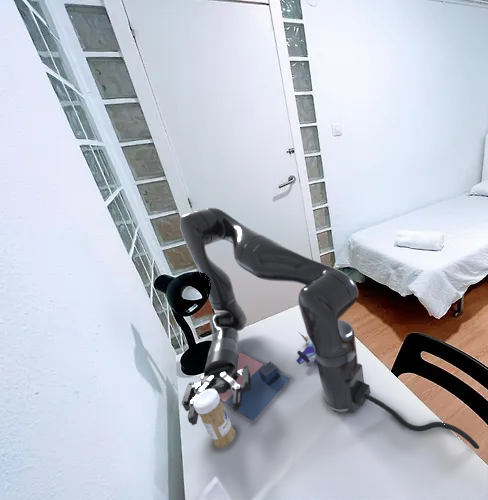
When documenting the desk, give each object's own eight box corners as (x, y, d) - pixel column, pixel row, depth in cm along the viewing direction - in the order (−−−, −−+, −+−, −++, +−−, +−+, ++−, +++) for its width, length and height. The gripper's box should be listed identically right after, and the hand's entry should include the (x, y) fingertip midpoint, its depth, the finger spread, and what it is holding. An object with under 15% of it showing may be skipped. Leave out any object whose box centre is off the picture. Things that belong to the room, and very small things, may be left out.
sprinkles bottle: (237, 440, 61) (218, 399, 55) (216, 454, 59) (194, 412, 53) (233, 423, 64) (215, 383, 59) (212, 436, 62) (191, 395, 57)
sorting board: (291, 379, 74) (291, 378, 74) (253, 422, 64) (252, 421, 64) (240, 353, 85) (240, 352, 84) (201, 387, 75) (200, 385, 75)
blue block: (280, 376, 74) (277, 367, 73) (268, 386, 72) (265, 376, 70) (272, 370, 77) (269, 360, 75) (261, 379, 74) (258, 369, 73)
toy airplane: (297, 336, 88) (295, 328, 87) (340, 336, 86) (339, 327, 85) (285, 371, 77) (282, 361, 75) (335, 371, 75) (333, 361, 73)
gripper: (188, 357, 70) (170, 415, 55) (246, 340, 73) (244, 391, 59) (198, 378, 73) (184, 438, 59) (254, 361, 76) (253, 414, 62)
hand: (214, 415), depth 59 cm, fingers open, 8 cm apart
